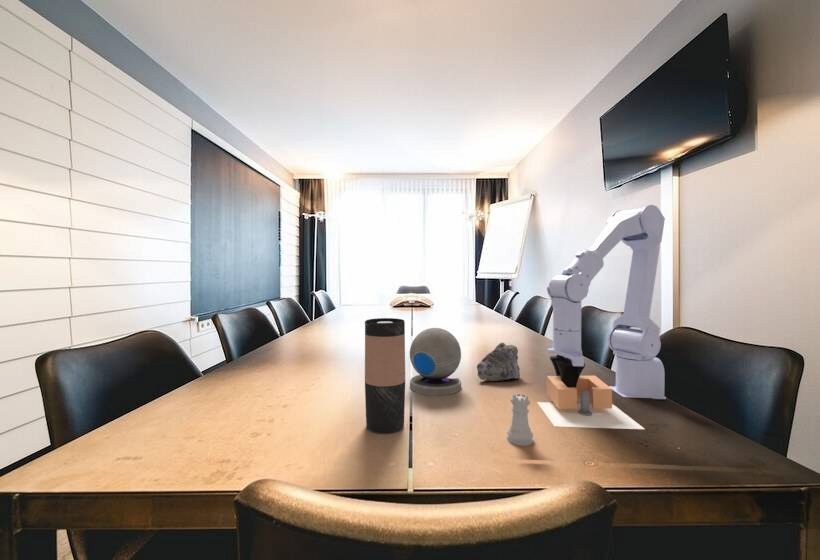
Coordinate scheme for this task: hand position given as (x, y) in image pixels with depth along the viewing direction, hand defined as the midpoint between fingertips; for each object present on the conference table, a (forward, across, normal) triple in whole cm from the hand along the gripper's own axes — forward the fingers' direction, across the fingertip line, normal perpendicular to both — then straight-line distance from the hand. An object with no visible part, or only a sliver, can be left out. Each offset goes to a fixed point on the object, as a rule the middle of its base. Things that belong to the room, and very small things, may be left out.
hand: (566, 391), depth 83 cm
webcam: (+3, -10, -29) cm, 31 cm away
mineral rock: (+3, -19, -12) cm, 22 cm away
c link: (+1, +3, +1) cm, 3 cm away
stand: (+3, +7, +1) cm, 7 cm away
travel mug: (+3, +15, -38) cm, 41 cm away
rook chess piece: (+3, +20, -14) cm, 24 cm away
